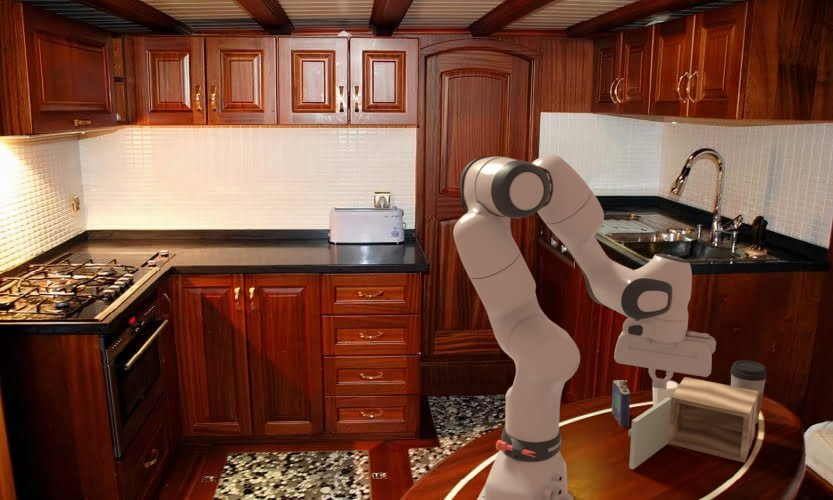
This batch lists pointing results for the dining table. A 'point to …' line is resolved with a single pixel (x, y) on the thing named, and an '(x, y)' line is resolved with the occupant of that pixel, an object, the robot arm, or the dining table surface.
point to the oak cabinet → (713, 418)
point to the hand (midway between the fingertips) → (659, 387)
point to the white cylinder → (664, 392)
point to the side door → (649, 432)
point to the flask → (621, 402)
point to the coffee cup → (749, 378)
